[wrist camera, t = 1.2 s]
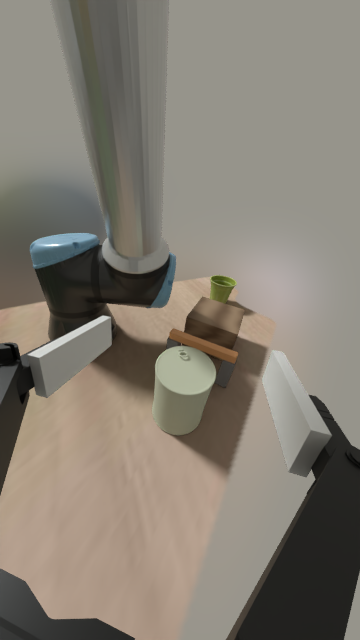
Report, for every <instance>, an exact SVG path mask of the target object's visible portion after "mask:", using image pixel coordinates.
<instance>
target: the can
mask: <svg viewBox="0 0 360 640" xmlns="http://www.w3.org/2000/svg"><path fill="white" fill-rule="evenodd" d="M215 379H216V368H215V366H214V364H213V362H212V360H211V359H210V358H209V357H208V356H207V355H206V354H205V353H203V352H202V351H200V350H198V349H195V348H192V347H188V346H176V347H172V348H169V349H167V350H165V351H164V352H163V353H162V354H161V355H160V356H159V357H158V359H157V361H156V364H155V390H154V401H153V405H152V413H153V417H154V420H155V422H156V423H157V425H158V426H159V427H160V428H161V429H162V430H163V431H165V432H167V433H169V434H172V435H185V434H188V433H190V432H192V431H193V430H194V429H195V428H196V427H197V426H198V425H199V423H200V421H201V418H202V412H203V410H204V407H205V404H206V401H207V399H208V396H209V393H210V391H211V388H212V386H213V384H214V382H215Z"/></svg>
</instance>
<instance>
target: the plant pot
mask: <svg viewBox="0 0 360 640" xmlns="http://www.w3.org/2000/svg"><path fill="white" fill-rule="evenodd" d="M210 281H211V294H210V299H212V300H215V301H218V302H222V303H225V304H226V302H227V300H228V297H229V295H230V293H231V291H232V289H233V288H234V286H235V285H236V284H237V283H236V281H235V280H234V279H232V278H229V277H226V276H220V275H216V276H212V277H211V278H210Z"/></svg>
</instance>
